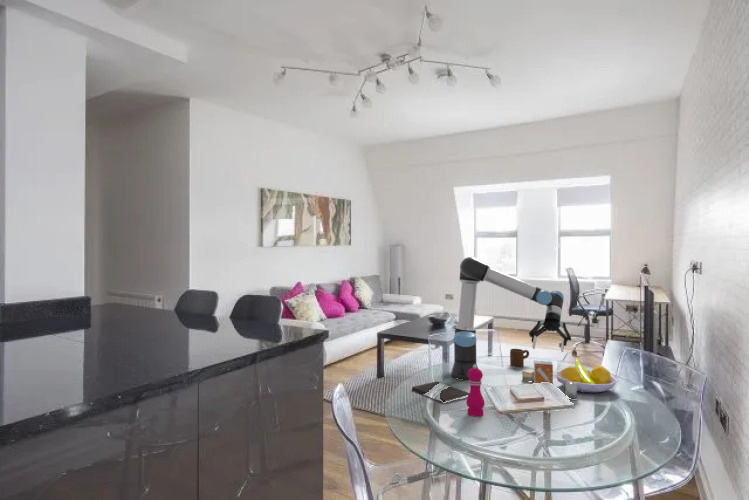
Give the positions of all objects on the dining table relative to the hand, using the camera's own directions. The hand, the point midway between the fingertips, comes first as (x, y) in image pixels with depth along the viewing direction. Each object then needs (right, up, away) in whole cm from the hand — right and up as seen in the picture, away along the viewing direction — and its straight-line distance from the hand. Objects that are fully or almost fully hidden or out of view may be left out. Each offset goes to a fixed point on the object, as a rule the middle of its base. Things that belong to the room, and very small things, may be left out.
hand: (547, 349), depth 210 cm
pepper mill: (-46, -17, -41) cm, 64 cm away
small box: (-5, -18, -9) cm, 20 cm away
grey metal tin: (+2, -17, -22) cm, 28 cm away
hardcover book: (-56, -18, -15) cm, 61 cm away
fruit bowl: (+16, -18, -7) cm, 25 cm away
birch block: (-7, -18, +7) cm, 20 cm away
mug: (-1, -19, +37) cm, 42 cm away
